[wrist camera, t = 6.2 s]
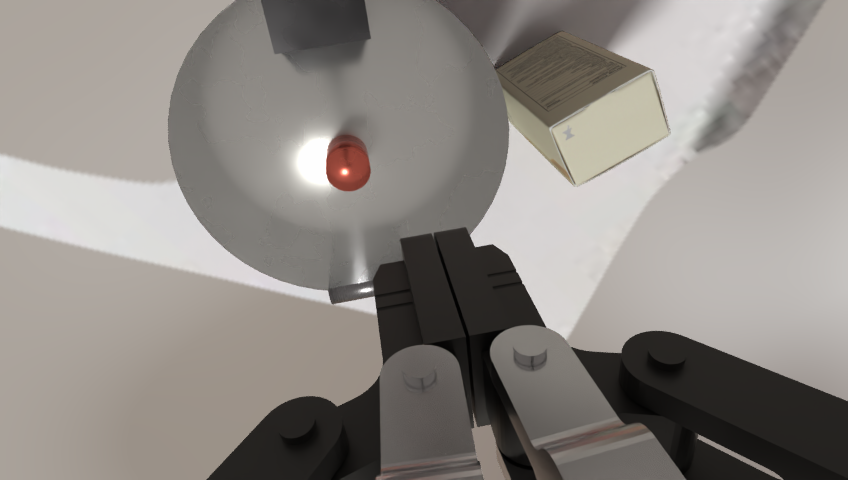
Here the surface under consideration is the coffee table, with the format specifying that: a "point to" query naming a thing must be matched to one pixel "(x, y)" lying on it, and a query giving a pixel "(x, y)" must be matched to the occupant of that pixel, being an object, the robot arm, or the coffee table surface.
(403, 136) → the cooker lid
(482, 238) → the coffee table surface
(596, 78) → the skincare box
